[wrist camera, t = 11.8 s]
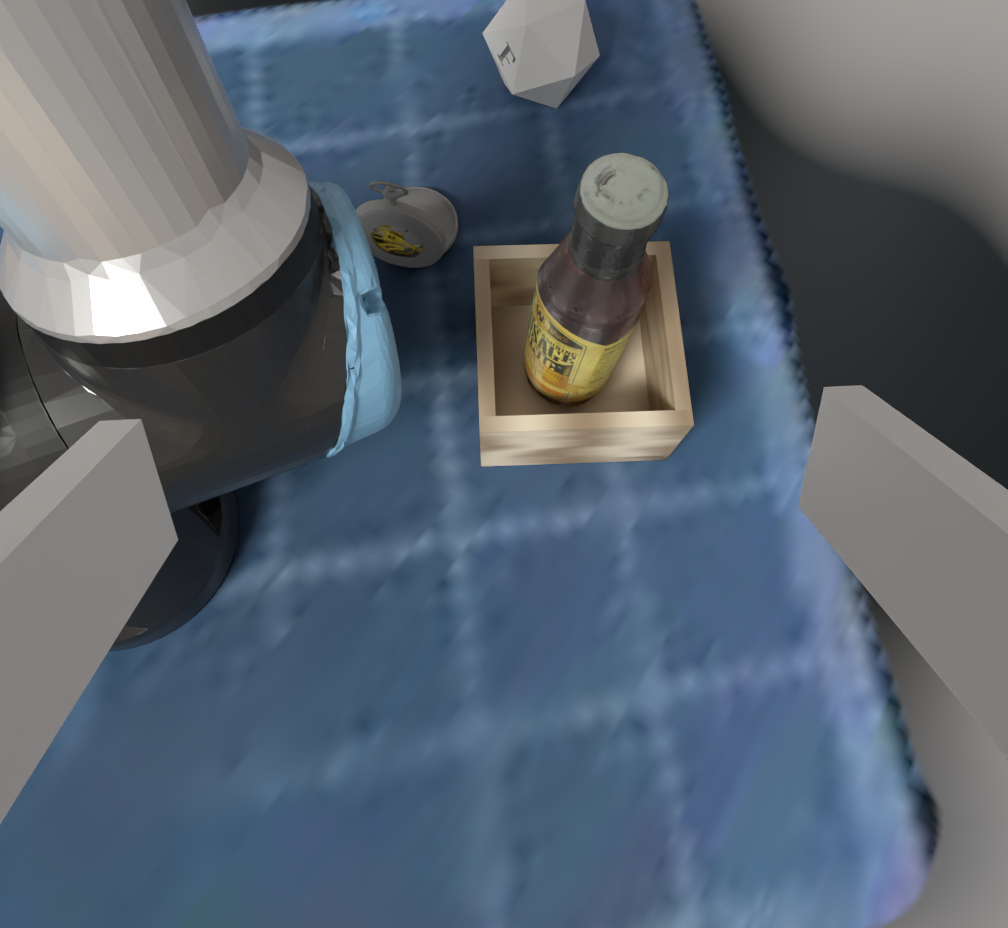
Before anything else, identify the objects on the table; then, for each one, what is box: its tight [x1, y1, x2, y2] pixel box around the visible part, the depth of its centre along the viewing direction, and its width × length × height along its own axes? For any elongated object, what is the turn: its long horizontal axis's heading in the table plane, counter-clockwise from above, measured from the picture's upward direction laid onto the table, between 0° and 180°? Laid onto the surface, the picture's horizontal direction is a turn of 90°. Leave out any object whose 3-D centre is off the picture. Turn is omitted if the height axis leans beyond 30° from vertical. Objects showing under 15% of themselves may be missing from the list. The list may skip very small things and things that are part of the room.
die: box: [483, 0, 600, 109], centre depth 54 cm, size 8×9×10 cm
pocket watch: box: [356, 181, 458, 268], centre depth 48 cm, size 8×8×10 cm
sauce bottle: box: [524, 153, 669, 405], centre depth 39 cm, size 6×6×20 cm
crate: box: [473, 241, 694, 466], centre depth 46 cm, size 13×13×7 cm
